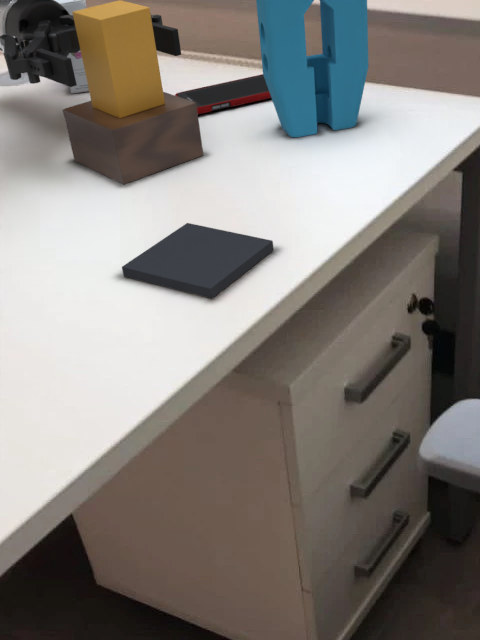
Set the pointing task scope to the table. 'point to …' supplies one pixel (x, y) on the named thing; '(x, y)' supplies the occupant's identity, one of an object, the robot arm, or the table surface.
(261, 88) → the cell phone
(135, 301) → the table surface
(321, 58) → the blue slotted bracket
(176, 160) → the walnut block
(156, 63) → the ochre block
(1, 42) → the robot arm
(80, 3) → the ink box
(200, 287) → the grey mat
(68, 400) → the table surface
